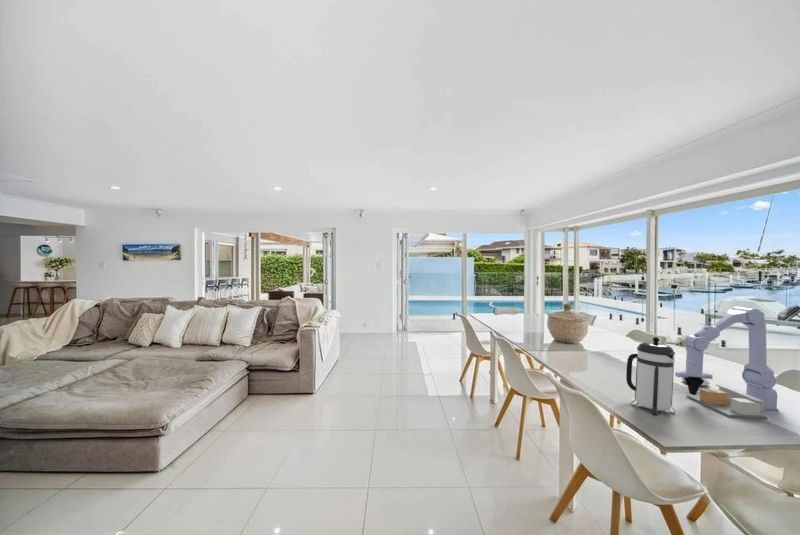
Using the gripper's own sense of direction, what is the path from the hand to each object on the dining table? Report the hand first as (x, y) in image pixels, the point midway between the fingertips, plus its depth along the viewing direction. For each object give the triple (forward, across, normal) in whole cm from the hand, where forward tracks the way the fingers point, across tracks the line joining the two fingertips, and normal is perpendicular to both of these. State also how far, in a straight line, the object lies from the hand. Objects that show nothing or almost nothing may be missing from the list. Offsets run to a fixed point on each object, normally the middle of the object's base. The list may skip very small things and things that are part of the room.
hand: (692, 394), depth 158 cm
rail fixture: (+4, -11, +3) cm, 12 cm away
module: (+3, -9, 0) cm, 9 cm away
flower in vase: (+4, -25, -31) cm, 40 cm away
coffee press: (+4, +24, +9) cm, 26 cm away
